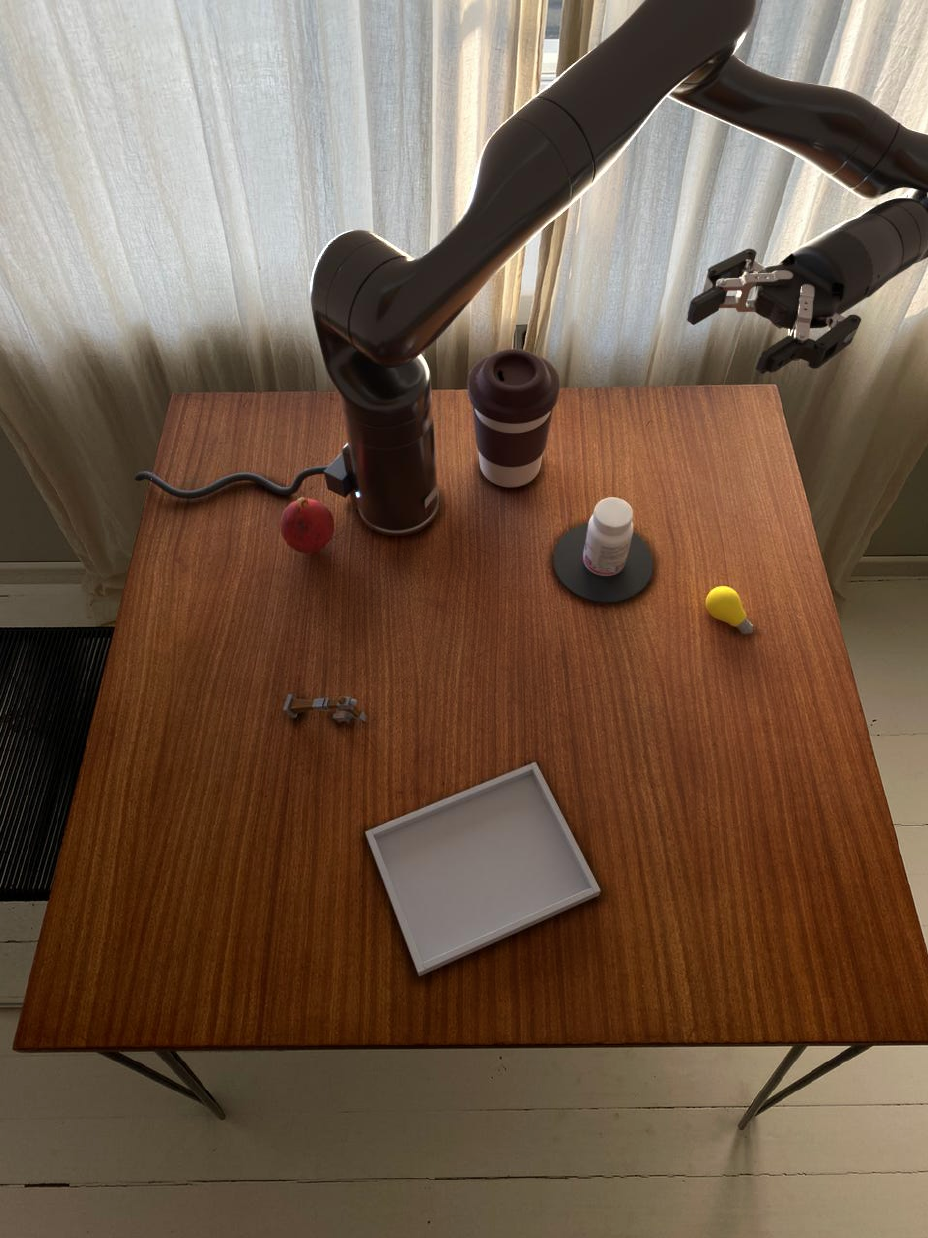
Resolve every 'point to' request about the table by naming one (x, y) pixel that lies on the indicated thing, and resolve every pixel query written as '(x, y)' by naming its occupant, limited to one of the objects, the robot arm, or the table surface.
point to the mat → (597, 586)
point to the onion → (307, 525)
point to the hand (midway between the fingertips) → (725, 339)
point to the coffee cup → (512, 413)
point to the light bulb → (728, 608)
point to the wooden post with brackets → (326, 707)
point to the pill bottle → (608, 537)
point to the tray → (480, 867)
